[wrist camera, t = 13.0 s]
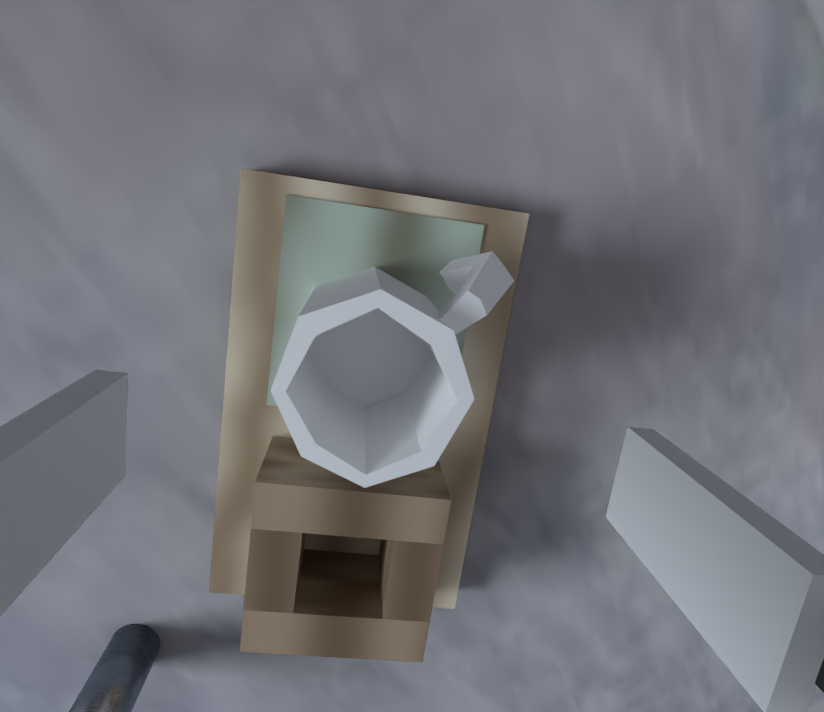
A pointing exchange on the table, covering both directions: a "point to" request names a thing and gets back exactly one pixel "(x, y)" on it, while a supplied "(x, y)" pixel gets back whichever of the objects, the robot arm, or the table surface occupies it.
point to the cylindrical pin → (120, 671)
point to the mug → (382, 369)
